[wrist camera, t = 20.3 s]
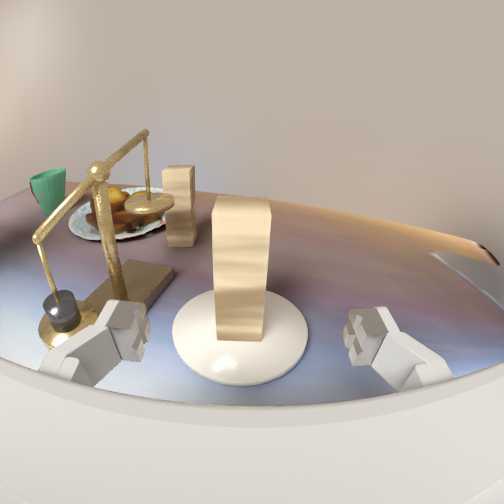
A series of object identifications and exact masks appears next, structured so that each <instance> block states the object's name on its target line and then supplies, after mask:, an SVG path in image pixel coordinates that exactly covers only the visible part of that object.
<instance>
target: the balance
mask: <svg viewBox="0 0 504 504" xmlns="http://www.w3.org/2000/svg"><path fill="white" fill-rule="evenodd" d="M148 135H149V131H148V130H147V129H144V130H142V131H141V132H140V133H138V134H137V135H136V136H134V137H133V138H132V139H131V140H130V141H128V142H127V143H126V144H124V145H123V146H122V147H121V148H120V149H118V150H117V151H116V152H115V153H114V154H113V155H111V156H110V157H109V158H108V159H107V160H105V161H104V162H103V161H96V162H93V163H92V164H91V165H90V166H89V167H88V170H87V178H86V179H85V180H84V181H82V182H81V183H80V184H79V185H78V186H77V187H76V188H75V189H74V190H73V191H72V192H71V193H70V194H69V195H68V196H67V197H66V198H65V199H64V200H63V201H62V203H61V204H60V205H59V206H58V207H57V208H56V209H55V210H54V211H53V212H52V213H51V214H50V215H49V217H48V218H47V219H46V220H45V221H44V222H43V223H42V224H41V226H40V227H39V228H38V229H37V230H36V231H35V233H34V234H33V236H32V241H33V243H34V244H36V245H37V248H38V252H39V255H40V258H41V262H42V265H43V268H44V271H45V274H46V277H47V280H48V282H49V285H50V288H51V291H52V294H50V295H49V296H48V297H47V298H46V299H45V301H44V303H43V308H44V310H45V312H46V314H45V315H44V316H43V318H42V319H41V321H40V324H39V328H38V331H39V335H40V337H41V339H42V341H43V343H44V345H45V346H46V347H47V348H49V349H50V350H51V349H52V348H54V347H55V346H57V345H59V344H60V343H62V342H63V341H65V340H67V339H68V338H70V337H72V336H73V335H75V334H76V333H78V332H80V331H81V330H83V329H85V328H86V327H88V326H89V325H94V324H95V322H96V320H97V319H98V317H99V315H100V313H101V311H102V310H103V308H104V306H105V305H106V303H107V301H108V300H110V299H113V300H120V301H121V300H123V301H132V302H141V303H144V304H145V306H146V310H148V309H149V308H150V307H151V305H152V304H153V303H154V302H155V300H156V299H157V298H158V297H159V295H160V294H161V293H162V292H163V291H164V289H165V288H166V287H167V286H168V285H169V283H170V282H171V281H172V280H173V278H174V272H173V268H172V267H166V266H161V265H156V264H151V263H146V262H141V261H136V260H131V259H129V260H128V261H127V262H126V263H124V264H123V265H122V266H121V264H120V259H119V254H118V249H117V243H116V238H115V232H114V226H113V220H112V214H111V207H110V200H109V192H108V183H107V180H108V179H109V176H110V169H111V167H113V166H114V165H115V164H116V163H117V162H118V161H119V160H120V159H122V158H123V157H124V156H125V155H126V154H127V153H128V152H129V151H131V150H132V149H133V148H134V147H135V146H137V145H138V144H139V143H140V142H141V141H142V140H143V146H144V164H145V179H146V194H141V195H137V196H134V197H131V198H129V199H128V200H126V201H125V203H124V205H125V211H126V212H127V213H128V214H131V215H153V214H158V213H162V212H165V211H167V210H169V209H171V208H172V207H173V206H174V205H175V202H174V196H173V195H171V194H168V193H150V180H149V164H148V143H147V136H148ZM91 187H92V190H93V197H94V204H95V210H96V216H97V222H98V227H99V233H100V238H101V243H102V248H103V252H104V257H105V261H106V265H107V269H108V274H109V278H108V279H107V280H106V281H105V282H104V283H102V284H101V285H100V286H99V287H98V288H97V289H96V290H95V291H94V292H93V293H92V294H91V295H90V296H89V297H88V298H87V299H86V300H85V301H80V300H75V298H74V295H73V293H72V292H71V291H68V290H60V291H57V289H56V286H55V283H54V281H53V278H52V275H51V272H50V269H49V266H48V262H47V259H46V256H45V252H44V249H43V245H42V241H43V240H44V239H45V238H46V236H47V235H48V234H49V233H50V232H51V230H52V229H53V228H54V227H55V226H56V225H57V223H58V222H59V221H60V220H61V219H62V218H63V217H64V215H65V214H66V213H67V212H68V211H69V210H70V209H71V208H72V207H73V206H74V204H75V203H76V202H77V201H78V200H79V199H80V198H81V197H82V196H83V195H84V194H85V193H86V192H87V191H88V190H89V189H90V188H91ZM146 312H147V311H146Z"/></svg>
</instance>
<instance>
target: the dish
mask: <svg viewBox="0 0 504 504" xmlns="http://www.w3.org/2000/svg"><path fill="white" fill-rule="evenodd" d="M172 335H173V341H174V345H175V349H176V351H177V354H178V356H179V357H180V359H181V360H182V362H183V363H184V364H185V365H186V366H187V367H188V368H189V369H191V370H192V371H193V372H194V373H196V374H198V375H199V376H201V377H203V378H205V379H207V380H210V381H212V382H216V383H219V384H224V385H230V386H253V385H258V384H263V383H266V382H269V381H272V380H274V379H277V378H279V377H281V376H282V375H284V374H286V373H287V372H288V371H290V370H291V369H292V368H293V367H294V366H295V365H296V364H297V363H298V362H299V360H300V359H301V357H302V355H303V353H304V350H305V347H306V343H307V338H308V329H307V324H306V321H305V319H304V317H303V315H302V314H301V312H300V311H299V310H298V309H297V308H296V307H295V306H294V305H293V304H292V303H291V302H289V301H288V300H287V299H285V298H283V297H282V296H279V295H277V294H275V293H273V292H270V291H267V290H266V292H265V304H264V316H263V328H262V339H261V342H253V341H219V340H217V334H216V317H215V298H214V290H211V291H208V292H205V293H202V294H200V295H198V296H196V297H195V298H193V299H191V300H190V301H189V302H187V303H186V304H185V305H184V306H183V307H182V308H181V309H180V311H179V312H178V314H177V316H176V317H175V320H174V323H173V328H172Z"/></svg>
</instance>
